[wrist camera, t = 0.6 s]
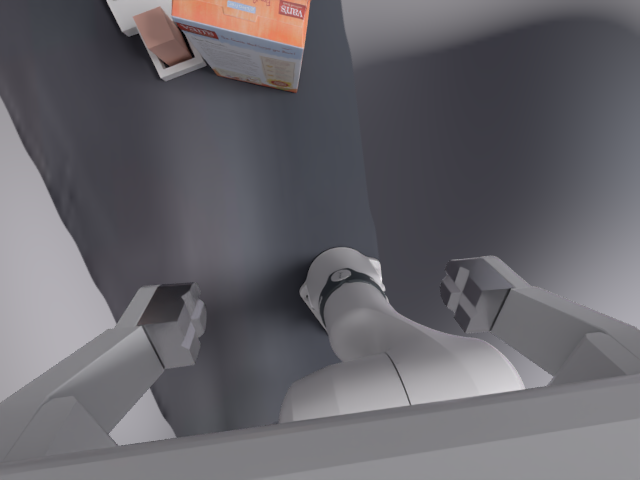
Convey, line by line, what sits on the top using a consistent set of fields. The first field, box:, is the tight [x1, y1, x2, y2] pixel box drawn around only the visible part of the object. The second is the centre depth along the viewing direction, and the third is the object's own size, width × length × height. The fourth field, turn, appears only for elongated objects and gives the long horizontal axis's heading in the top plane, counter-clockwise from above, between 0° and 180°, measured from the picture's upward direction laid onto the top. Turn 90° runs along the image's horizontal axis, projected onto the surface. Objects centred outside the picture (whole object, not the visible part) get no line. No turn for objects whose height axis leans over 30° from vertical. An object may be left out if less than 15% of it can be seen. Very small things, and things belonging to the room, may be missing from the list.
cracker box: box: [171, 0, 310, 93], centre depth 38 cm, size 14×6×21 cm, turn 79°
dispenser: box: [106, 0, 207, 81], centre depth 44 cm, size 14×12×2 cm
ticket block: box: [133, 6, 192, 67], centre depth 42 cm, size 4×4×8 cm
